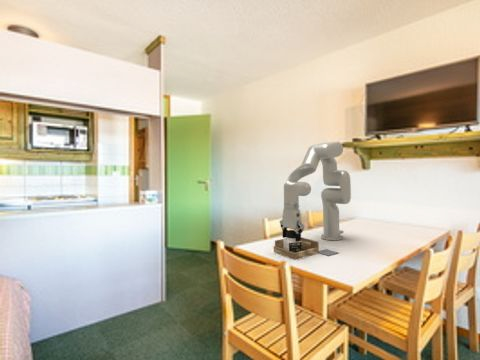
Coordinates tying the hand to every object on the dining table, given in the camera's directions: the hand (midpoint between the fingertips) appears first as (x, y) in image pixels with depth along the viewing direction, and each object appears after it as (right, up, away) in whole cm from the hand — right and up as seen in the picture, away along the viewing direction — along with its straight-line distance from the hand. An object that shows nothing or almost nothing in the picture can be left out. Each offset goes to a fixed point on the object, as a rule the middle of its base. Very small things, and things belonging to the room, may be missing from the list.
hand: (291, 239), depth 139 cm
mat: (+19, -7, 0) cm, 20 cm away
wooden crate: (+3, -8, +2) cm, 8 cm away
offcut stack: (+8, -7, +5) cm, 12 cm away
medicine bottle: (+1, -8, +1) cm, 8 cm away
